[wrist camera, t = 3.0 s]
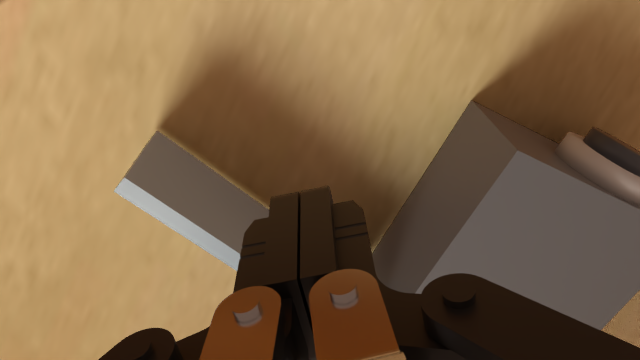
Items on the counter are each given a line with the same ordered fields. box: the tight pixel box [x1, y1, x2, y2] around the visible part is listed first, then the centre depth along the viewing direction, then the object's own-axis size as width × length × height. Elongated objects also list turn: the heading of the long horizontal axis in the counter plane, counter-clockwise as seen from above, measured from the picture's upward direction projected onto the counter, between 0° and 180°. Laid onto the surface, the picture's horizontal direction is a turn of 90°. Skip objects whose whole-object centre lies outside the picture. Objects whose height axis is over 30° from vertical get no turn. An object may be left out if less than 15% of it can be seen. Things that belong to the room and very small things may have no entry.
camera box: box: [372, 100, 640, 330], centre depth 25 cm, size 14×9×7 cm, turn 154°
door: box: [114, 131, 269, 271], centre depth 24 cm, size 13×1×5 cm, turn 49°
